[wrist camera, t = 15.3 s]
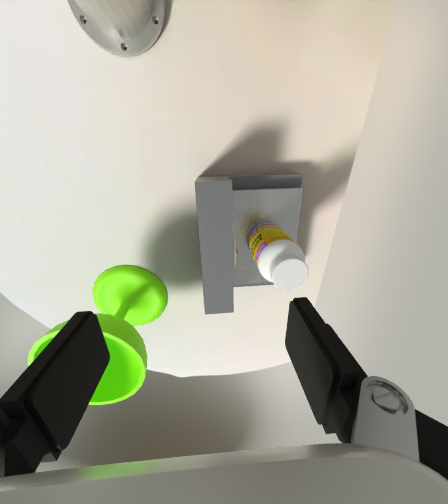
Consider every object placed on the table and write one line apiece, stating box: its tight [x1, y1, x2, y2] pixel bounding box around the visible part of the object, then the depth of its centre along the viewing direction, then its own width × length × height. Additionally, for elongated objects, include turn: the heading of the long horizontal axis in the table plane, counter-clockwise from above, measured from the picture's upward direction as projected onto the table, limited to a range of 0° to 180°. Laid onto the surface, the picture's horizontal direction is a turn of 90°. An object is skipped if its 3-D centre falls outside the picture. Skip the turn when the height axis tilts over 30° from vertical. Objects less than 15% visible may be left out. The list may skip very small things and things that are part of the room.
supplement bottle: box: [248, 223, 308, 291], centre depth 32 cm, size 7×7×13 cm
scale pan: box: [232, 187, 303, 285], centre depth 39 cm, size 18×12×1 cm, turn 2°
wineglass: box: [28, 265, 167, 405], centre depth 39 cm, size 16×16×18 cm
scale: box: [195, 173, 302, 314], centre depth 38 cm, size 22×18×11 cm
